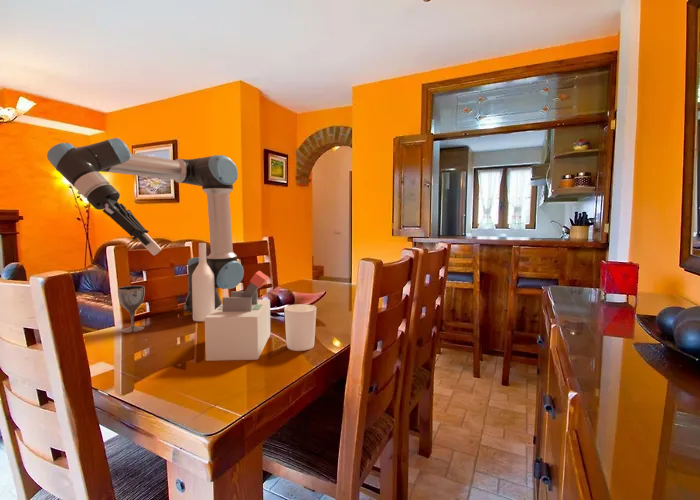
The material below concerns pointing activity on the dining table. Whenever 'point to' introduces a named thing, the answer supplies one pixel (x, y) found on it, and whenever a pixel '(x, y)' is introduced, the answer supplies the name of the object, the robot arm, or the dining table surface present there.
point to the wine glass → (131, 303)
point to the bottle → (202, 287)
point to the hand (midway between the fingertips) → (157, 252)
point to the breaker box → (237, 328)
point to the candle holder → (300, 326)
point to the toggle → (255, 284)
